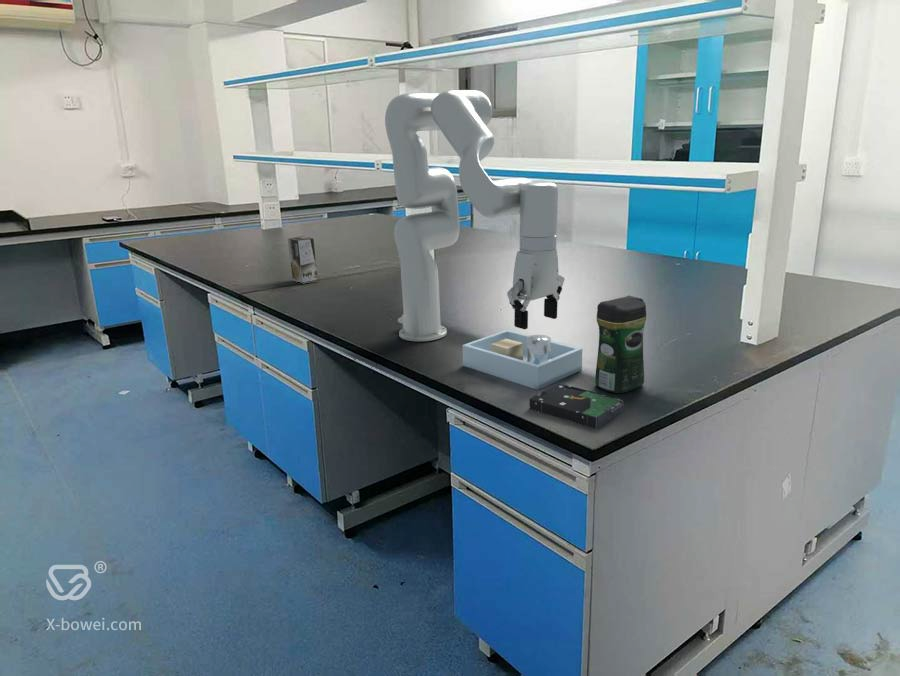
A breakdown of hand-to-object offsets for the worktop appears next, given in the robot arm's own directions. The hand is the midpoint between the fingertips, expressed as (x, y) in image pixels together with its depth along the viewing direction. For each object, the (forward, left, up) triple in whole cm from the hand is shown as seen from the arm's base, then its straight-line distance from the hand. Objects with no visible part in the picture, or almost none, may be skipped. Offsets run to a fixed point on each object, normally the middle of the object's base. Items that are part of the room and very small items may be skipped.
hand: (536, 322), depth 140 cm
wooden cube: (-6, -3, -10) cm, 12 cm away
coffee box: (-124, +17, -12) cm, 126 cm away
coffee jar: (+18, +5, -12) cm, 22 cm away
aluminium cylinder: (+1, 0, -10) cm, 10 cm away
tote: (-4, 0, -11) cm, 12 cm away
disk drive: (+18, -10, -12) cm, 24 cm away
